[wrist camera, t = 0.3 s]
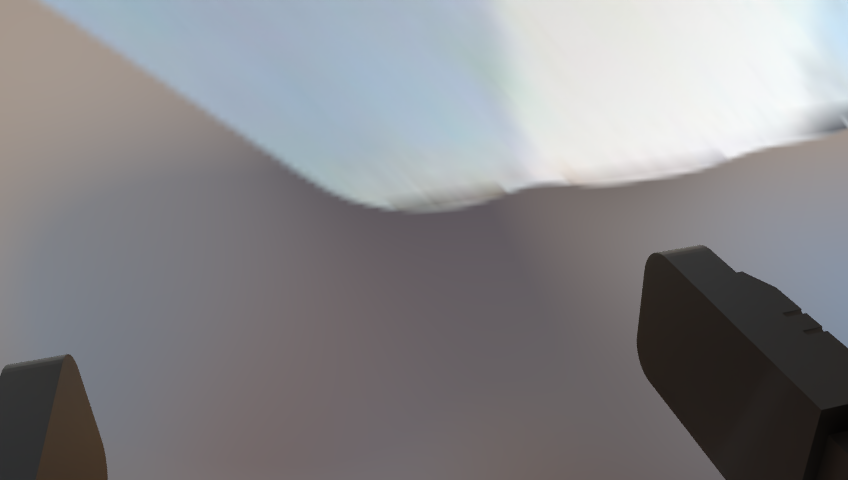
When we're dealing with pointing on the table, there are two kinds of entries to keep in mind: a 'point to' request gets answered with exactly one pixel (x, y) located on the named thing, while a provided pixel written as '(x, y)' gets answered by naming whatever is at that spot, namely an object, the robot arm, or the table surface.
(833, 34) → the table surface
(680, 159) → the table surface
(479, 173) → the table surface
